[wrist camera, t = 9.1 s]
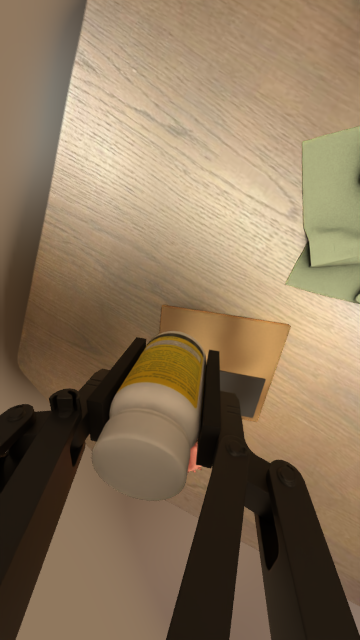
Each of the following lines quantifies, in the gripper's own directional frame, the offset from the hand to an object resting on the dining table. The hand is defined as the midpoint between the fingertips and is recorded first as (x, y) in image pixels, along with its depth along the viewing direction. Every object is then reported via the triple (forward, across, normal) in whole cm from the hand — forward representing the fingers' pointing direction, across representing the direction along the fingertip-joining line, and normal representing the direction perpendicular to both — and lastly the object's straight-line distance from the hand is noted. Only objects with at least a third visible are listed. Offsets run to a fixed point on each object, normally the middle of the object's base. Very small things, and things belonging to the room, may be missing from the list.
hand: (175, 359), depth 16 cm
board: (+15, +4, -10) cm, 19 cm away
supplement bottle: (+1, 0, 0) cm, 1 cm away
